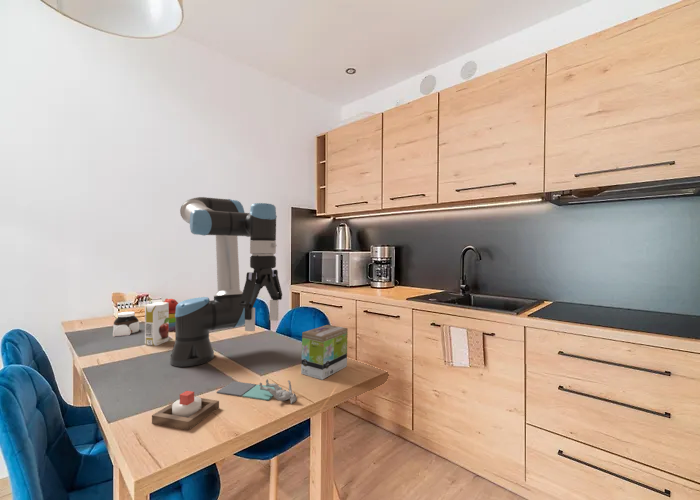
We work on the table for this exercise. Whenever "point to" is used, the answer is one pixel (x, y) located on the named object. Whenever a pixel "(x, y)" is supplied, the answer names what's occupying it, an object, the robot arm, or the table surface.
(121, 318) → the spread jar
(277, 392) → the soldier figure
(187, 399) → the white and red button
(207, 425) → the table surface
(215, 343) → the table surface
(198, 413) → the frame
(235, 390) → the dark grey square tile
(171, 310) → the stacking bear
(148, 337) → the juice carton
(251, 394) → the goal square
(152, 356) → the table surface
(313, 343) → the tea box
